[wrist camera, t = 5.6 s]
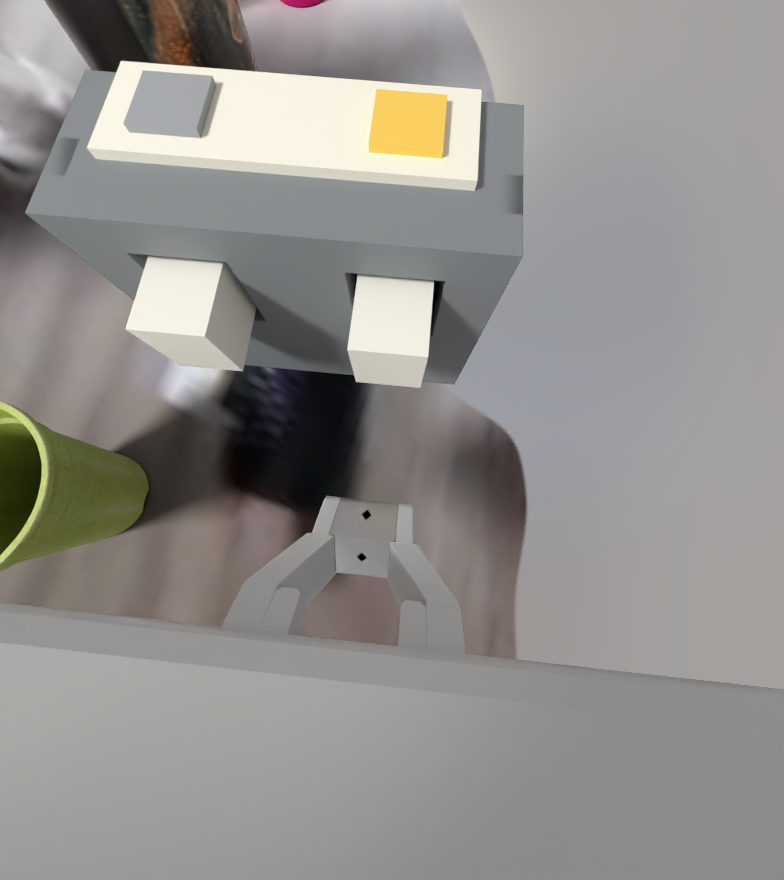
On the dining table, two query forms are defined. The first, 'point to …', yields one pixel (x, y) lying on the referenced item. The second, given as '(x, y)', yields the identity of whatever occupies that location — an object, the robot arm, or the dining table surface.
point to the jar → (157, 32)
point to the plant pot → (60, 490)
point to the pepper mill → (301, 2)
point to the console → (294, 196)
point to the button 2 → (390, 330)
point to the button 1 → (193, 312)
